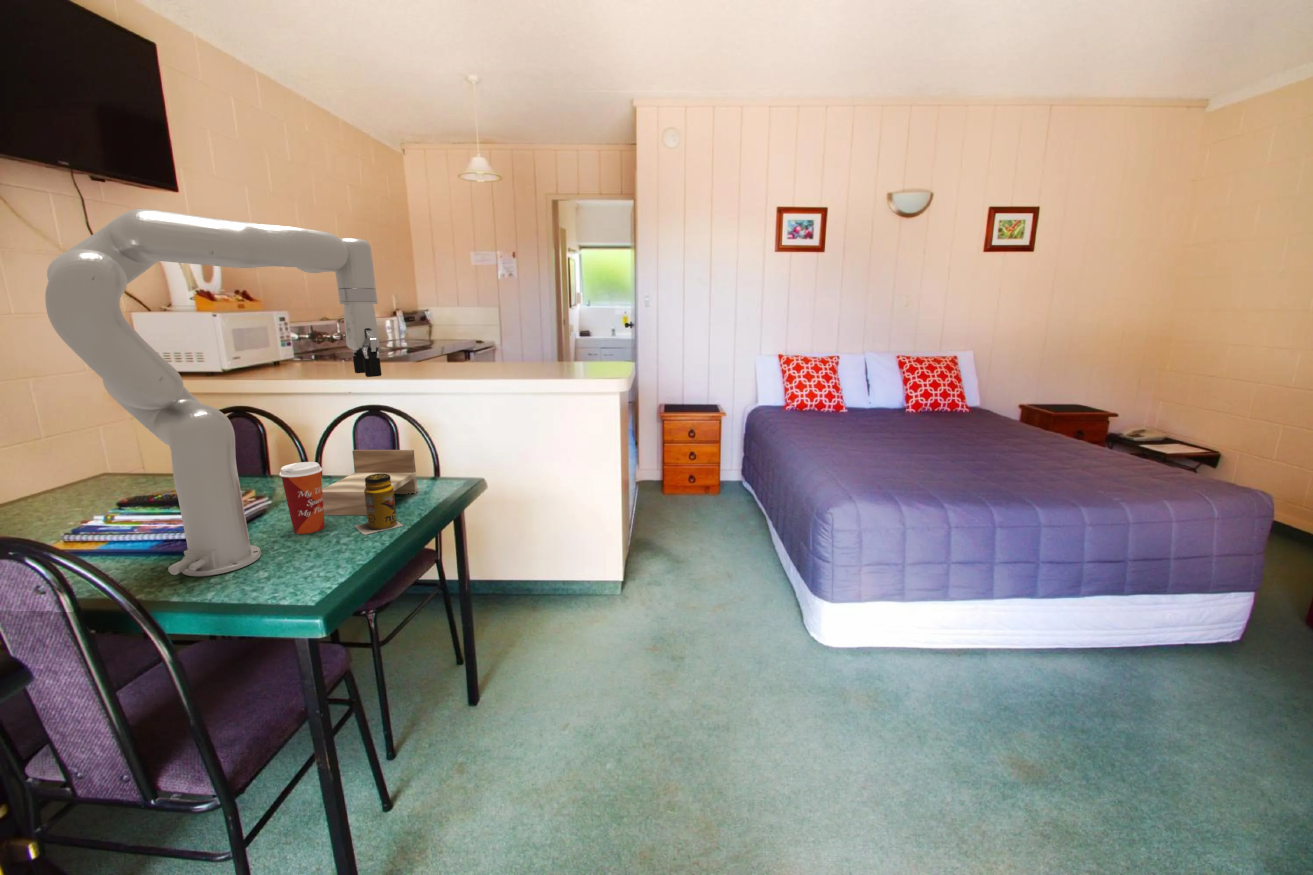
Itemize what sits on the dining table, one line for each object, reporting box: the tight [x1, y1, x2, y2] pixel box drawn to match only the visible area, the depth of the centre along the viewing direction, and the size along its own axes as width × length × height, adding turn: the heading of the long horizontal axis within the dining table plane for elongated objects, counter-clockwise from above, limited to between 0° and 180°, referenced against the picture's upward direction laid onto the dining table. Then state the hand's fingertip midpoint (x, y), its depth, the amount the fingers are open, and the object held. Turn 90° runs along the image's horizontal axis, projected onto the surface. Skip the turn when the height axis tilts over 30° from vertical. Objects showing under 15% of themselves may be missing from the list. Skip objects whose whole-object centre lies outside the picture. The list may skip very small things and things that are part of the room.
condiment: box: [354, 474, 404, 536], centre depth 129 cm, size 7×8×12 cm
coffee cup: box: [279, 461, 325, 535], centre depth 127 cm, size 8×8×15 cm
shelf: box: [322, 449, 419, 516], centre depth 145 cm, size 18×16×12 cm
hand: (368, 374), depth 129 cm, fingers open, 9 cm apart
